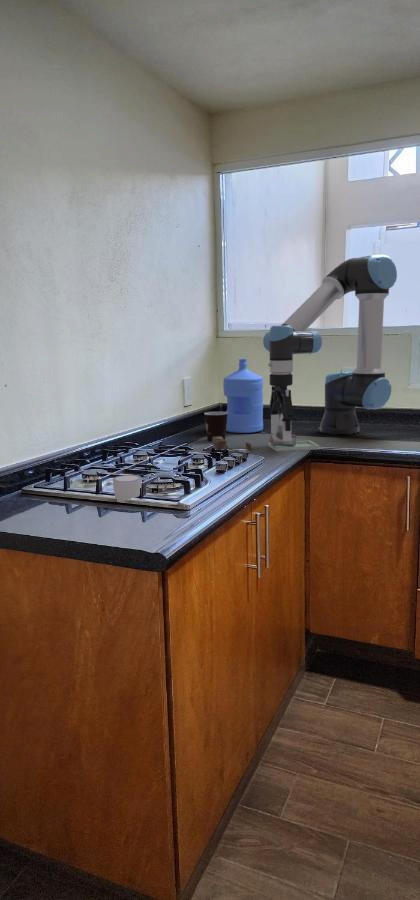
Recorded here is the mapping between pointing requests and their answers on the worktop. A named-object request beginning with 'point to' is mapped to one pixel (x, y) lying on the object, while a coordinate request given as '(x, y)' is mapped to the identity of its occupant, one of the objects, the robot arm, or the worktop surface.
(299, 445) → the pale green tray
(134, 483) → the light grey cup
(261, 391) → the water jug
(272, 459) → the worktop surface
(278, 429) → the cell
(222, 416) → the coffee mug
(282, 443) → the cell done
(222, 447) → the brown wooden stand
